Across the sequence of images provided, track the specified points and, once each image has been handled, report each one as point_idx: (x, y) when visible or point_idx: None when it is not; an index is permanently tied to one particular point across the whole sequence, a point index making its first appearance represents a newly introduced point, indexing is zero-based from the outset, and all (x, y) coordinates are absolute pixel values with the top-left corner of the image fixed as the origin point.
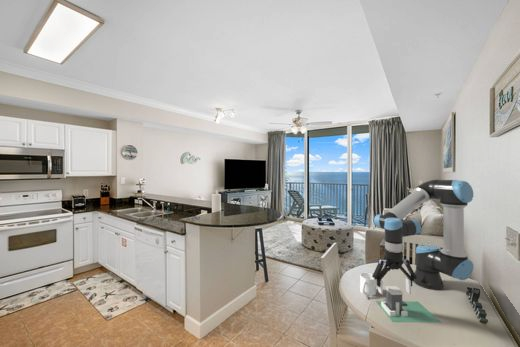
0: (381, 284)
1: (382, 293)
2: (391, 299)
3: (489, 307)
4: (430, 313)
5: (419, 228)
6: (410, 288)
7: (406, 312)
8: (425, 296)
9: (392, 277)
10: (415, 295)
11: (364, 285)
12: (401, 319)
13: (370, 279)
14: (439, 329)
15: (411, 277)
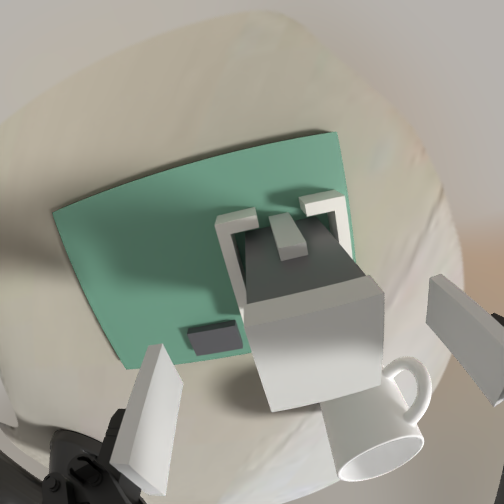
0: (498, 330)
1: (436, 280)
2: (349, 258)
3: None
4: (84, 280)
5: None
6: (138, 385)
7: (223, 220)
8: (97, 405)
9: (200, 479)
10: None
11: (425, 390)
12: (270, 170)
13: (393, 438)
14: (79, 163)
15: (91, 499)
